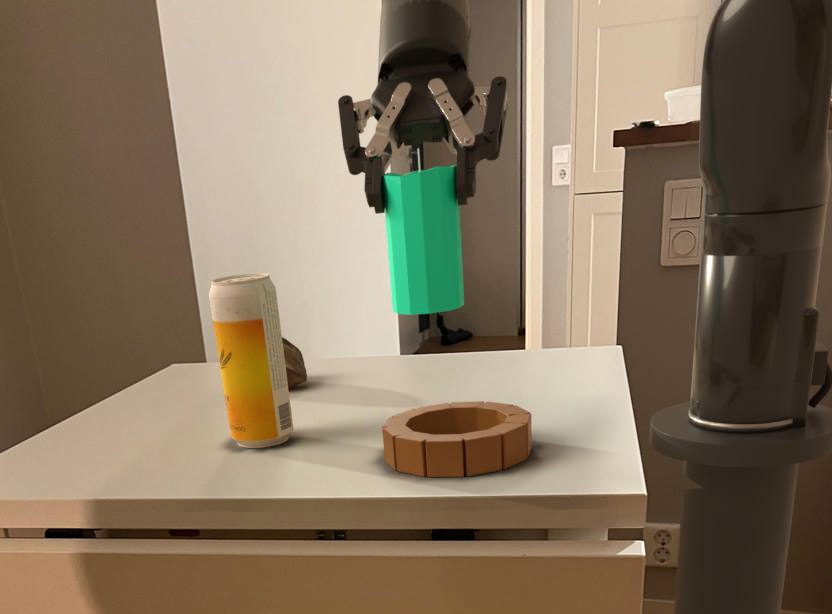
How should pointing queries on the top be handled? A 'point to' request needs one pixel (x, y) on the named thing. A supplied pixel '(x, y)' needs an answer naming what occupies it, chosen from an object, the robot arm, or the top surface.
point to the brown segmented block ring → (457, 439)
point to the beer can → (251, 359)
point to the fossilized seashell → (293, 364)
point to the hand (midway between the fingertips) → (420, 201)
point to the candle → (424, 240)
